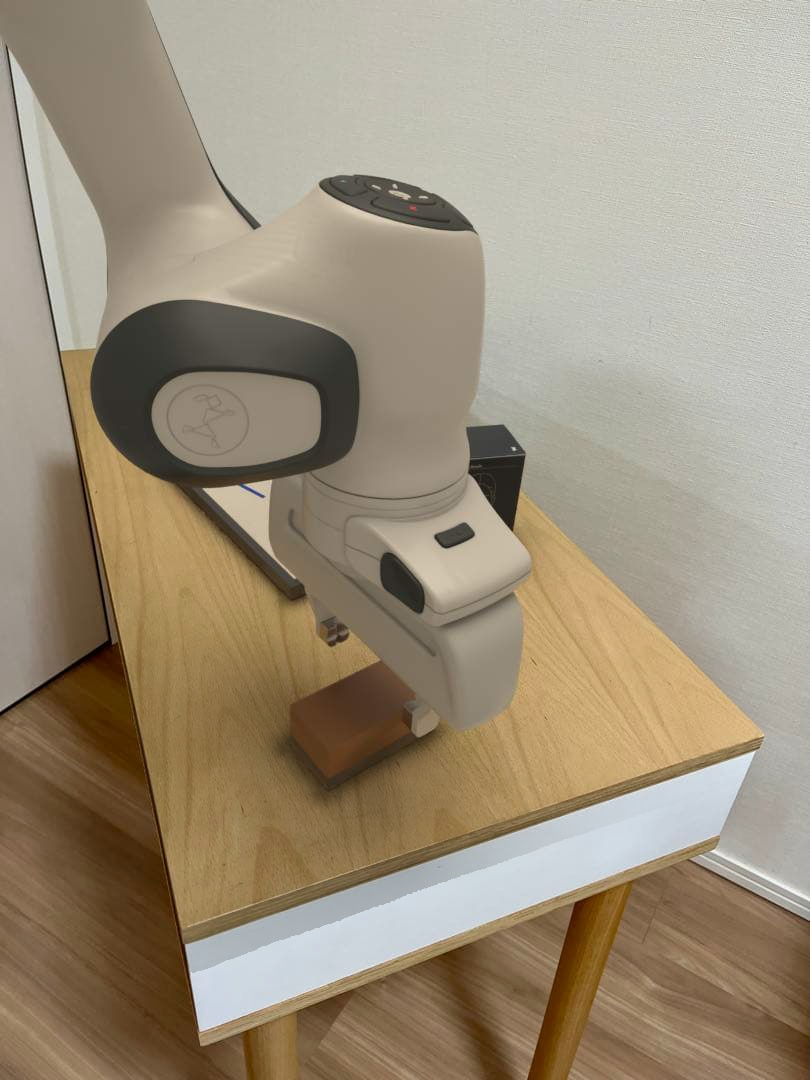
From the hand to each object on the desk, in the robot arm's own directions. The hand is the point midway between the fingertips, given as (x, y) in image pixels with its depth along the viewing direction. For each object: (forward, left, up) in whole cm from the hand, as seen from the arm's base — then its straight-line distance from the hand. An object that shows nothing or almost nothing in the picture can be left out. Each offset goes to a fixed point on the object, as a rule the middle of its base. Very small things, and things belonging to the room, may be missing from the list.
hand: (373, 679), depth 53 cm
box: (+20, +14, -6) cm, 25 cm away
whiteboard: (+10, +27, -6) cm, 29 cm away
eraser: (0, 0, -6) cm, 6 cm away
